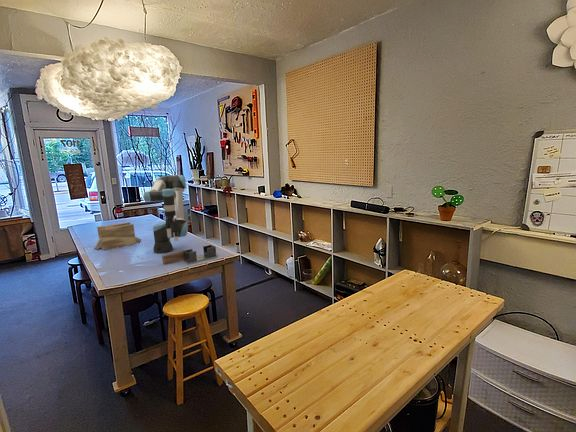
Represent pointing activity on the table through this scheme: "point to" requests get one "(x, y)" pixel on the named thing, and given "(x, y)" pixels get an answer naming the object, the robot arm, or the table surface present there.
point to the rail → (173, 257)
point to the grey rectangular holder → (193, 258)
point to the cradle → (117, 235)
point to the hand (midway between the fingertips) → (172, 238)
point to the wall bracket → (101, 243)
